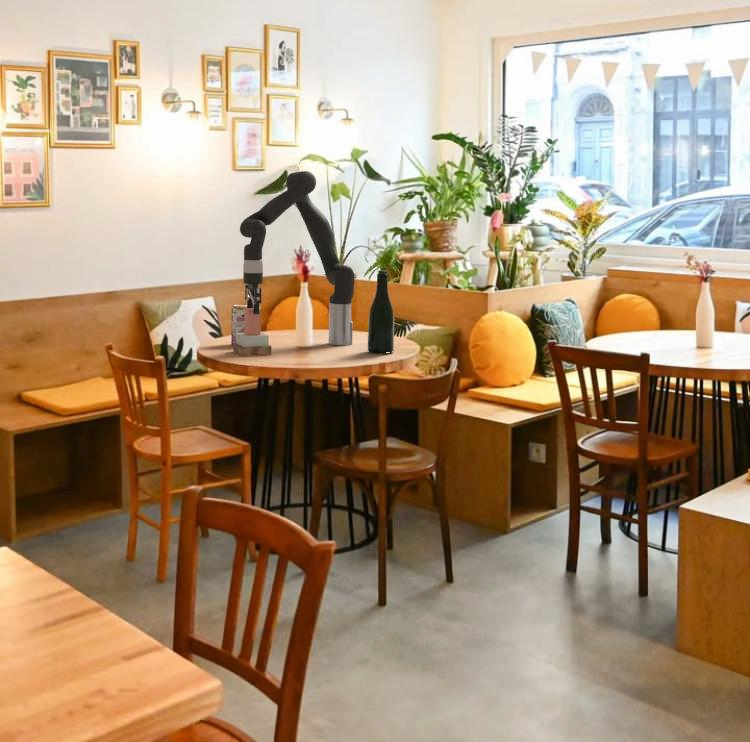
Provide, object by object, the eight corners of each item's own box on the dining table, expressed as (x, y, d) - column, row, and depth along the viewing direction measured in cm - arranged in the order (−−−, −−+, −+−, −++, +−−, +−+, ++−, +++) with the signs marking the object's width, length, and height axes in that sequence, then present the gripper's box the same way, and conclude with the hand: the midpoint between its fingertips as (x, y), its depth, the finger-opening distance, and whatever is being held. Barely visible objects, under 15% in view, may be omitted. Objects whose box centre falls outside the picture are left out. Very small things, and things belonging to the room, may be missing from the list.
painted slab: (259, 342, 428) (259, 332, 427) (268, 345, 419) (268, 335, 419) (235, 343, 424) (235, 333, 423) (244, 346, 415) (244, 336, 414)
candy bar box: (231, 345, 440) (231, 305, 437) (233, 343, 445) (233, 304, 442) (257, 346, 439) (258, 306, 436) (260, 344, 444) (260, 305, 441)
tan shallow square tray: (262, 351, 430) (262, 341, 429) (271, 356, 419) (271, 346, 418) (233, 352, 425) (233, 342, 425) (241, 357, 415) (241, 347, 414)
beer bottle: (376, 355, 425) (379, 271, 419) (362, 351, 434) (364, 269, 428) (398, 353, 431) (401, 271, 425) (384, 349, 439) (386, 268, 434)
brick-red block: (256, 333, 424) (256, 308, 422) (260, 335, 419) (260, 309, 418) (244, 333, 422) (244, 308, 420) (248, 335, 417) (248, 309, 416)
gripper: (267, 272, 412) (267, 314, 415) (257, 269, 425) (257, 310, 428) (248, 273, 409) (249, 315, 412) (238, 270, 422) (238, 311, 425)
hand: (253, 312), depth 420 cm, fingers open, 8 cm apart
